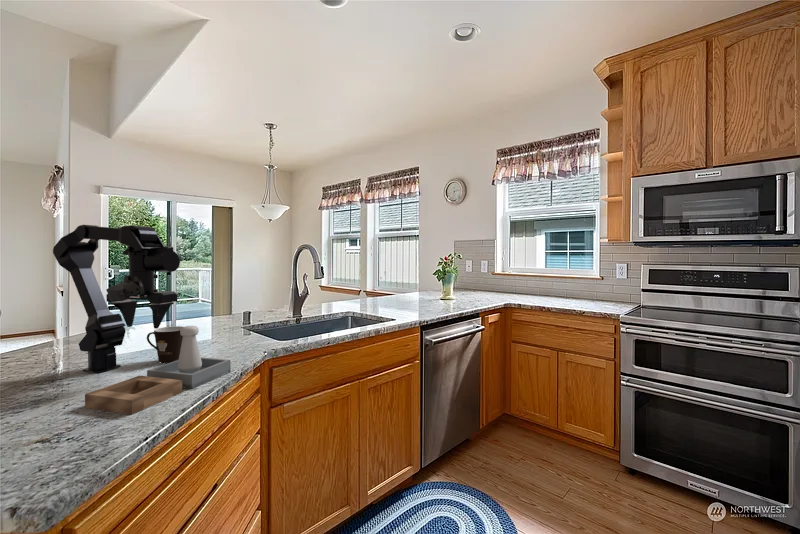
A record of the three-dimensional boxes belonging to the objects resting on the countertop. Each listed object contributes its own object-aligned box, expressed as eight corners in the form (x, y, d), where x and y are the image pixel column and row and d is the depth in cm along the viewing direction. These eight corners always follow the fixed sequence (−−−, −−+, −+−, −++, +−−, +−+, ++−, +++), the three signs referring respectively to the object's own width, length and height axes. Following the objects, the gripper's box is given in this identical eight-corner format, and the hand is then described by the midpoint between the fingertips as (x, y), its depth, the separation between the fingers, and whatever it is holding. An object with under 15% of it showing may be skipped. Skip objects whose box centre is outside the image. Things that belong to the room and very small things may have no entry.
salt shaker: (199, 376, 100) (198, 327, 100) (175, 378, 99) (174, 329, 98) (203, 369, 106) (203, 323, 105) (180, 371, 104) (180, 324, 104)
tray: (147, 383, 97) (146, 370, 97) (189, 367, 111) (189, 356, 111) (192, 389, 94) (191, 375, 94) (230, 372, 107) (230, 359, 107)
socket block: (85, 407, 82) (84, 394, 82) (139, 387, 95) (139, 375, 95) (132, 414, 79) (131, 400, 79) (182, 392, 92) (182, 380, 91)
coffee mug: (192, 359, 120) (191, 328, 119) (163, 366, 112) (162, 333, 112) (173, 354, 126) (172, 324, 125) (144, 360, 118) (143, 328, 118)
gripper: (85, 272, 99) (86, 331, 99) (142, 273, 94) (143, 335, 95) (125, 270, 109) (126, 323, 110) (178, 271, 105) (179, 327, 105)
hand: (142, 327), depth 105 cm, fingers open, 9 cm apart
